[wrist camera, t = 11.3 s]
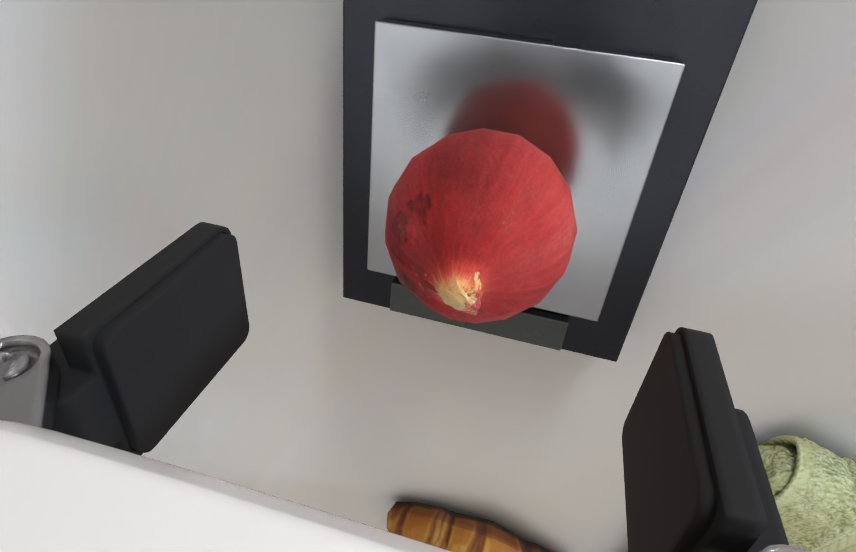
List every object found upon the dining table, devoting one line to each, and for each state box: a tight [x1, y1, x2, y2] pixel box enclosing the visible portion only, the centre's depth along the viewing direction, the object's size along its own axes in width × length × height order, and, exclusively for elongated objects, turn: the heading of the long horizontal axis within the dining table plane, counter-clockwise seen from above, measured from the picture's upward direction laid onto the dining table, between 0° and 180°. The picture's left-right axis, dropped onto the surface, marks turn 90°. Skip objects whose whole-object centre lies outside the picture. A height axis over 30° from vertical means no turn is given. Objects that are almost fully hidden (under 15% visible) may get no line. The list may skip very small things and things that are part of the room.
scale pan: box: [367, 18, 685, 321], centre depth 20 cm, size 10×10×1 cm
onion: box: [385, 128, 577, 324], centre depth 16 cm, size 6×6×8 cm
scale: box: [343, 0, 758, 361], centre depth 21 cm, size 15×13×3 cm
